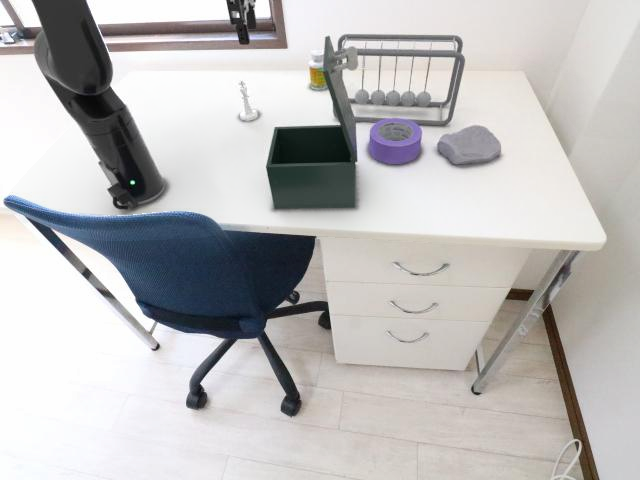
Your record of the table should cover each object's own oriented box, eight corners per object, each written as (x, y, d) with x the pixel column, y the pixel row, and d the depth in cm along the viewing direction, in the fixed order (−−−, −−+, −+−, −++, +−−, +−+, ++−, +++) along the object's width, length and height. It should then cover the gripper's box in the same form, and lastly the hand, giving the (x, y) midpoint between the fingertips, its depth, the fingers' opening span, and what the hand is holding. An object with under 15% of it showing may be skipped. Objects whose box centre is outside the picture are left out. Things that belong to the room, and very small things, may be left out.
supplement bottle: (319, 92, 109) (317, 58, 102) (307, 86, 112) (304, 52, 105) (332, 85, 111) (331, 51, 104) (320, 80, 114) (318, 46, 107)
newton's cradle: (332, 120, 98) (330, 50, 85) (339, 100, 105) (337, 33, 92) (450, 126, 93) (467, 53, 80) (449, 105, 100) (464, 34, 87)
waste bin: (274, 208, 77) (265, 166, 69) (281, 168, 86) (274, 126, 78) (354, 207, 76) (355, 164, 68) (353, 166, 85) (353, 124, 77)
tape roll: (358, 149, 89) (359, 131, 85) (392, 130, 94) (394, 112, 90) (395, 171, 83) (397, 152, 79) (429, 149, 87) (433, 131, 84)
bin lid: (322, 72, 55) (354, 61, 54) (325, 36, 64) (352, 26, 63) (353, 163, 68) (380, 156, 66) (352, 122, 77) (375, 115, 75)
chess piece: (254, 121, 101) (247, 85, 93) (237, 120, 101) (228, 84, 94) (260, 111, 104) (253, 76, 96) (243, 110, 105) (235, 75, 97)
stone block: (500, 163, 85) (476, 133, 90) (509, 148, 81) (483, 118, 86) (455, 178, 83) (432, 147, 88) (462, 164, 79) (438, 132, 84)
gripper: (220, -65, 73) (238, 24, 86) (200, -48, 64) (224, 50, 76) (257, -68, 73) (270, 23, 85) (243, -51, 63) (260, 49, 76)
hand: (248, 36), depth 81 cm, fingers open, 8 cm apart
